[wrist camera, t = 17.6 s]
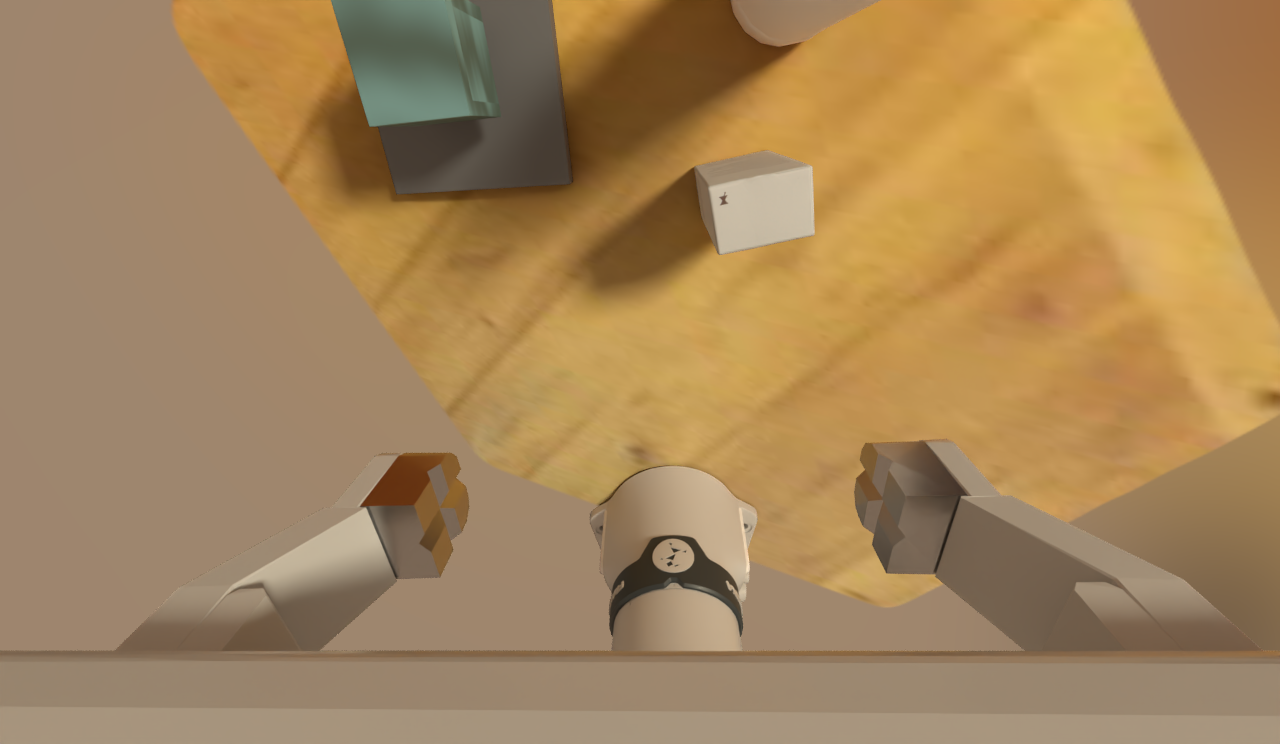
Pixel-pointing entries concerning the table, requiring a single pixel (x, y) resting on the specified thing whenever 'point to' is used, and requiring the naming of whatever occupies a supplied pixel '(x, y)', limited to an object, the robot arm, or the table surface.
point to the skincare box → (755, 200)
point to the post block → (503, 146)
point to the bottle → (792, 18)
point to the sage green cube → (418, 60)
